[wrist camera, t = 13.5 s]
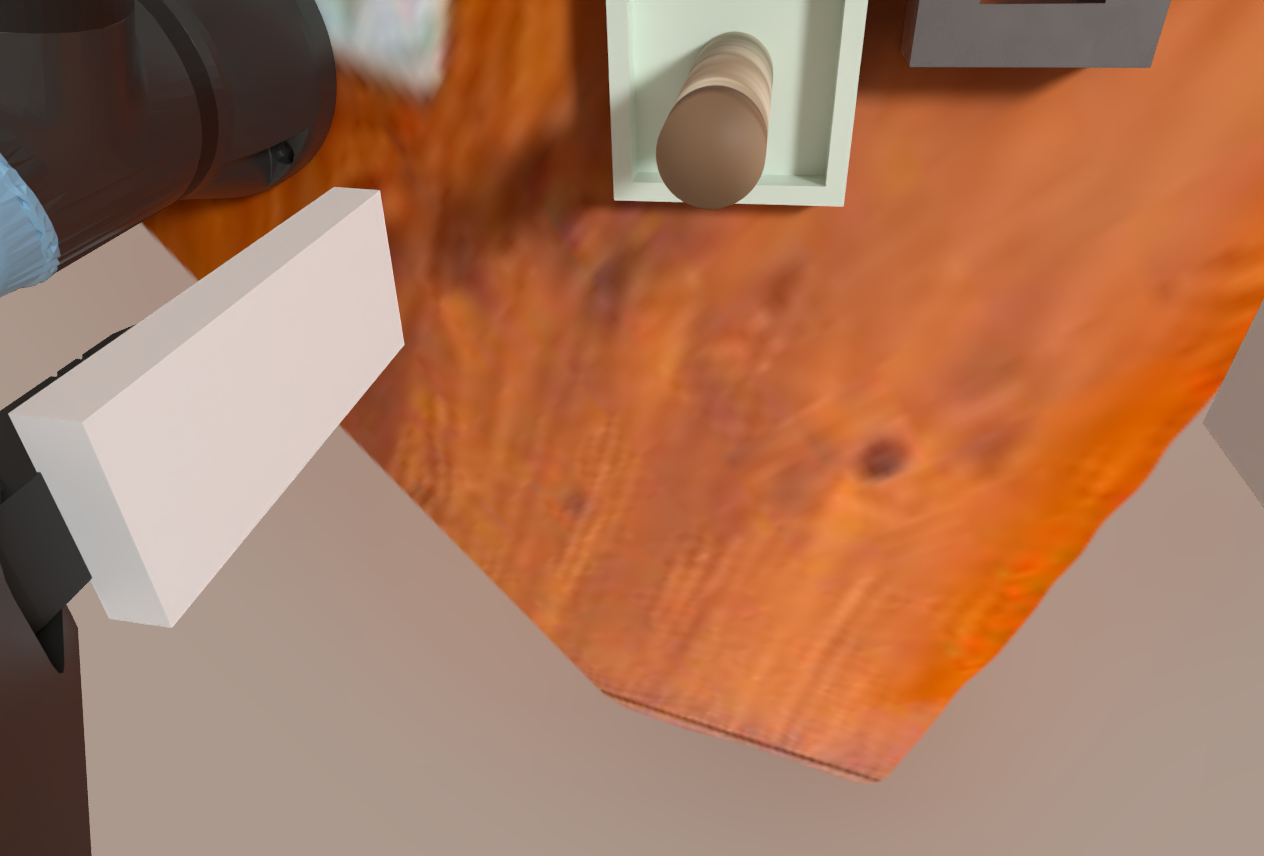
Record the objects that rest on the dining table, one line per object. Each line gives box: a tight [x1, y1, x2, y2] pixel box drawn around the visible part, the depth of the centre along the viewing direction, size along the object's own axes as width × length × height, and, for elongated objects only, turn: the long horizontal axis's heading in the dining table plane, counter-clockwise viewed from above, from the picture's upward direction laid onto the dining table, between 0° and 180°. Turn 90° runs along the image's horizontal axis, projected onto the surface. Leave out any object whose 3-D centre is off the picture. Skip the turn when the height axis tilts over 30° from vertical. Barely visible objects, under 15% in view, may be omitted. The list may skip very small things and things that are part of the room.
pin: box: [656, 31, 773, 209], centre depth 36 cm, size 4×4×14 cm
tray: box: [606, 0, 868, 206], centre depth 41 cm, size 12×12×2 cm
